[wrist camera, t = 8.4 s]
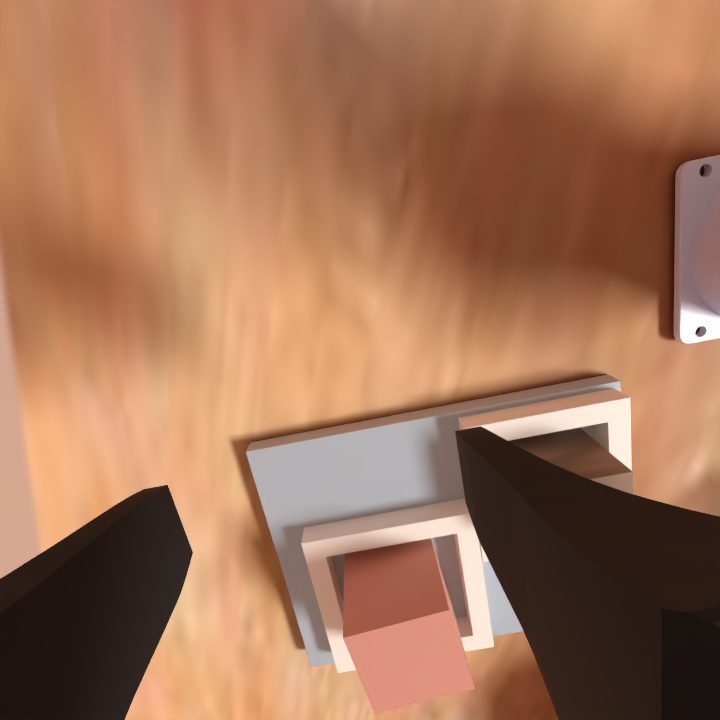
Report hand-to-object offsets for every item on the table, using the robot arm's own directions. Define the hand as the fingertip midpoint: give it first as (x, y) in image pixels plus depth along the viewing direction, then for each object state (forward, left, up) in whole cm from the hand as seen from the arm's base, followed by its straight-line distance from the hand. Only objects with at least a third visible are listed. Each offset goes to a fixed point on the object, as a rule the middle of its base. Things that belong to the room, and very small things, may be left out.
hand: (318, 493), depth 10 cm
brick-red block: (-1, +12, -9) cm, 15 cm away
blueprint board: (-4, +10, -10) cm, 15 cm away
